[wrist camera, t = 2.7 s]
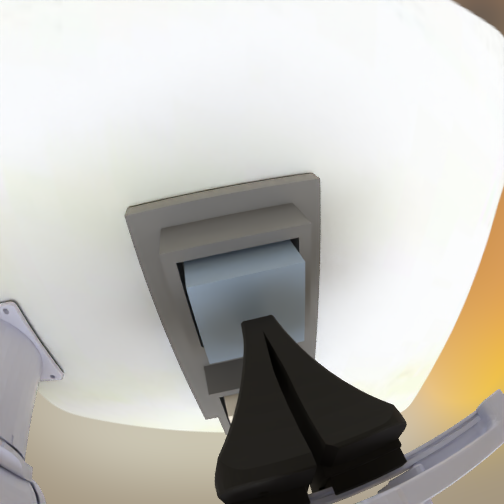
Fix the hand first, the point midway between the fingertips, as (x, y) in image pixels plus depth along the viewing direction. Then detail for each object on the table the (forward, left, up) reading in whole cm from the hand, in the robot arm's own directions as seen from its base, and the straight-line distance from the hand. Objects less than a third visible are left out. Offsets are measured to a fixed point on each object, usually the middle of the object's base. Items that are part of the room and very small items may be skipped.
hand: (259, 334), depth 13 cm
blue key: (0, 0, -3) cm, 3 cm away
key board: (0, -6, -6) cm, 8 cm away
